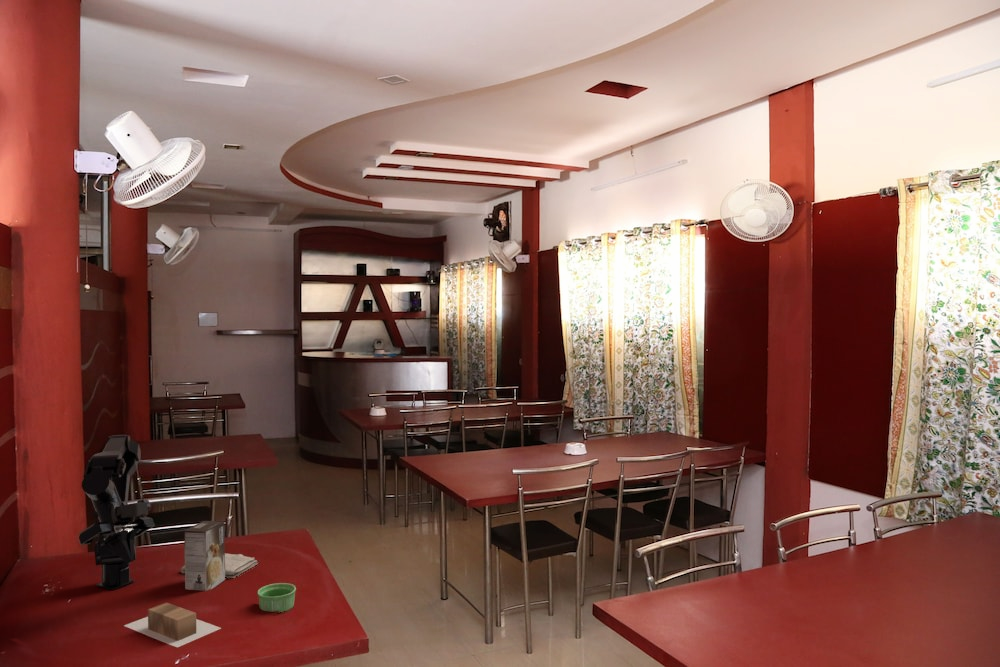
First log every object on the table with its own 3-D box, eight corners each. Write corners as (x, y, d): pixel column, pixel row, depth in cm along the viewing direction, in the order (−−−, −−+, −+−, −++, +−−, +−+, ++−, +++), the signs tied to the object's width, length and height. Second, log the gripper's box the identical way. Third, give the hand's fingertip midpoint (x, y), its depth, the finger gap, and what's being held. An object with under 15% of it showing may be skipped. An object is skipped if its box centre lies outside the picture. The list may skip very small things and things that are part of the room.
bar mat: (123, 628, 161) (123, 625, 161) (168, 611, 170) (168, 608, 170) (177, 650, 150) (177, 647, 150) (221, 630, 160) (221, 628, 160)
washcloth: (235, 581, 191) (235, 569, 191) (178, 575, 195) (178, 564, 195) (260, 565, 202) (260, 555, 202) (205, 560, 207) (205, 550, 207)
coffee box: (204, 578, 191) (203, 519, 191) (226, 580, 190) (225, 521, 190) (184, 591, 182) (183, 530, 182) (207, 593, 181) (206, 531, 181)
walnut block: (147, 609, 159) (177, 620, 153) (166, 602, 163) (196, 613, 157) (148, 629, 159) (177, 640, 153) (166, 621, 163) (196, 633, 157)
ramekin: (303, 603, 175) (303, 586, 175) (278, 617, 167) (278, 599, 167) (275, 597, 179) (275, 580, 179) (249, 611, 171) (249, 593, 170)
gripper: (104, 488, 162) (129, 550, 158) (160, 485, 180) (183, 541, 176) (67, 513, 163) (90, 575, 159) (125, 507, 181) (147, 563, 177)
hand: (130, 562), depth 168 cm, fingers closed
